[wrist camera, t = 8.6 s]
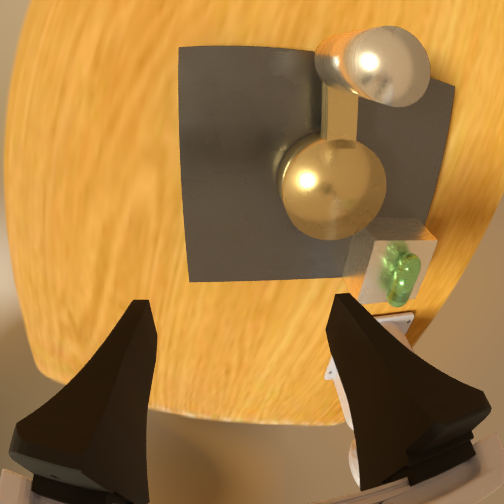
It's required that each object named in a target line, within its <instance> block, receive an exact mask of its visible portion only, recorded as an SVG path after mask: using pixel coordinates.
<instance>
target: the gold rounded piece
mask: <svg viewBox="0 0 504 504" xmlns="http://www.w3.org/2000/svg"><path fill="white" fill-rule="evenodd" d="M314 65H315V69H316V72H317V74H318V76H319V77H320V79H321V80H322V124H321V132H317V133H314V134H311V135H309V136H307V137H304V138H303V139H301V140H300V141H298V142H297V143H296V144H295V145H294V146H293V147H292V148H291V149H290V150H289V151H288V152H287V154H286V155H285V157H284V159H283V161H282V163H281V165H280V168H279V173H278V191H279V195H280V197H281V200H282V202H283V205H284V207H285V209H286V212H287V214H288V216H289V218H290V220H291V221H292V222H293V224H294V225H295V226H296V227H297V228H298V229H299V230H300V231H302V232H303V233H304V234H306V235H308V236H310V237H313V238H316V239H320V240H338V239H343V238H346V237H349V236H351V235H354V234H355V233H357V232H359V231H360V230H362V229H363V228H365V227H366V226H367V225H368V224H369V223H370V222H371V221H372V220H373V219H374V218H375V216H376V215H377V213H378V212H379V210H380V208H381V206H382V204H383V201H384V198H385V194H386V175H385V171H384V168H383V165H382V163H381V161H380V160H379V158H378V157H377V156H376V155H375V153H374V152H373V151H371V150H370V149H369V148H368V147H366V146H365V145H363V144H362V143H360V142H358V141H357V140H356V135H357V117H358V96H359V97H363V98H366V99H369V100H373V101H376V102H379V103H382V104H385V105H388V106H392V107H405V106H409V105H411V104H413V103H415V102H416V101H418V100H419V99H420V98H421V97H422V96H423V94H424V93H425V91H426V89H427V87H428V84H429V80H430V63H429V58H428V56H427V53H426V51H425V49H424V47H423V46H422V44H421V43H420V42H419V40H418V39H417V38H416V37H415V36H414V35H412V34H411V33H410V32H408V31H406V30H404V29H402V28H399V27H395V26H382V27H375V28H369V29H363V30H358V31H352V32H347V33H343V34H338V35H333V36H330V37H328V38H326V39H325V40H323V41H322V42H321V43H320V45H319V46H318V48H317V49H316V52H315V56H314Z"/></svg>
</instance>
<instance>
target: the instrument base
mask: <svg viewBox="0 0 504 504" xmlns="http://www.w3.org/2000/svg"><path fill="white" fill-rule="evenodd" d="M314 56H315V52H312V51H304V50H295V49H284V48H272V47H254V46H193V47H179V64H178V95H179V140H180V165H181V184H182V200H183V215H184V228H185V240H186V251H187V262H188V272H189V282H225V281H261V280H290V279H315V278H336V277H342V278H343V280H344V282H345V284H346V286H347V288H348V290H349V292H350V294H351V295H352V296H353V297H354V298H355V299H356V300H357V301H358V302H359V303H360V304H369V303H380V302H388V303H389V304H390V305H391V306H393V307H401V306H403V305H405V304H406V303H407V301H408V299H415V298H416V295H417V293H418V291H419V288H420V286H421V284H422V281H423V279H424V276H425V274H426V271H427V269H428V266H429V264H430V261H431V259H432V256H433V253H434V251H435V248H436V245H437V242H438V240H437V239H436V238H435V237H434V236H433V234H432V233H431V232H430V231H429V230H428V229H427V228H426V227H425V222H426V219H427V216H428V212H429V209H430V206H431V202H432V198H433V195H434V191H435V187H436V183H437V179H438V175H439V171H440V167H441V163H442V158H443V154H444V149H445V144H446V139H447V134H448V129H449V123H450V117H451V111H452V104H453V97H454V89H455V86H452V85H450V84H447V83H444V82H441V81H438V80H435V79H432V78H430V80H429V84H428V87H427V89H426V91H425V93H424V94H423V96H422V97H421V98H420V99H419V100H418V101H416V102H415V103H413V104H411V105H409V106H405V107H392V106H388V105H385V104H382V103H379V102H376V101H373V100H369V99H366V98H363V97H359V96H358V117H357V135H356V140H357V141H358V142H360V143H362V144H363V145H365V146H366V147H368V148H369V149H370V150H371V151H373V152H374V153H375V155H376V156H377V157H378V158H379V160H380V161H381V163H382V165H383V168H384V171H385V175H386V194H385V198H384V201H383V204H382V206H381V208H380V210H379V212H378V213H377V215H376V216H375V218H374V219H373V220H372V221H371V222H370V223H369V224H368V225H367V226H366V227H365V228H363V229H362V230H360V231H359V232H357V233H355V234H354V235H351V236H349V237H346V238H343V239H338V240H320V239H316V238H313V237H310V236H308V235H306V234H304V233H303V232H302V231H300V230H299V229H298V228H297V227H296V226H295V225H294V224H293V222H292V221H291V220H290V218H289V216H288V214H287V212H286V209H285V207H284V205H283V202H282V200H281V197H280V195H279V191H278V173H279V168H280V165H281V163H282V161H283V159H284V157H285V155H286V154H287V152H288V151H289V150H290V149H291V148H292V147H293V146H294V145H295V144H296V143H297V142H298V141H300V140H301V139H303V138H304V137H307V136H309V135H311V134H314V133H317V132H321V124H322V80H321V79H320V77H319V76H318V74H317V72H316V69H315V65H314Z"/></svg>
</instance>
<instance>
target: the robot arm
mask: <svg viewBox="0 0 504 504" xmlns="http://www.w3.org/2000/svg"><path fill="white" fill-rule="evenodd" d="M413 319H414V314H413V313H412V312H408V313H401V314H393V315H385V316H376V317H373V316H372V315H371V314H370V313H369V312H368V311H367V310H366V309H365V308H364V307H363V306H362V305H361V304H360V303H359V302H358V301H357V300H356V299H355V298H354V297H353V296H352V295H351V294H350V293H343V294H335V298H334V301H333V305H332V309H331V312H330V316H329V319H328V323H327V326H326V334H327V339H328V343H329V347H330V352H331V355H332V356H331V359H330V361H329V364H328V367H327V369H326V372H325V375H324V378H325V379H326V380H330V379H333V380H334V384H335V387H336V390H337V394H338V397H339V400H340V403H341V407H342V410H343V414H344V417H345V420H346V422H347V424H348V425H349V427H350V428H351V429H352V430H353V431H354V434H355V439H354V440H353V441H352V443H351V447H350V450H349V464H350V468H351V472H352V474H353V477H354V479H355V481H356V483H357V484H358V486H359V487H360V490H361V492H358V493H354V494H350V495H346V496H342V497H338V498H333V499H329V500H324V501H318V502H313V503H307V504H477V503H479V502H480V501H481V500H483V499H484V498H486V497H487V496H488V495H490V494H491V493H493V492H494V491H496V490H497V489H498V488H500V487H501V486H502V485H504V449H503V447H502V444H501V442H500V440H499V438H498V435H497V433H493V434H491V435H489V436H488V437H486V438H484V439H482V440H480V441H479V442H477V443H475V444H474V445H473V444H472V442H473V441H472V439H473V438H474V436H473V433H472V430H473V429H474V428H475V427H476V426H477V425H478V424H480V423H481V422H482V421H483V420H484V419H485V418H486V417H487V416H488V415H489V413H490V412H491V406H490V404H489V402H488V400H487V398H486V396H485V394H484V392H483V391H481V390H478V389H476V388H474V387H471V386H469V385H466V384H464V383H462V382H460V381H458V380H456V379H454V378H452V377H450V376H448V375H447V374H445V373H443V372H441V371H440V370H438V369H436V368H435V367H433V366H432V365H430V364H428V363H427V362H426V361H424V360H423V359H421V358H420V357H419V356H417V355H416V354H415V353H414V351H413V349H412V348H411V346H410V344H409V342H408V340H407V338H406V336H405V334H406V332H407V331H408V329H409V327H410V325H411V323H412V321H413ZM156 351H157V332H156V328H155V324H154V320H153V316H152V312H151V308H150V303H149V300H133V301H132V302H131V304H130V305H129V307H128V308H127V310H126V311H125V313H124V314H123V316H122V317H121V319H120V320H119V321H118V323H117V324H116V326H115V327H114V329H113V330H112V331H111V333H110V334H109V336H108V337H107V338H106V340H105V341H104V343H103V344H102V345H101V346H100V348H99V349H98V350H97V351H96V353H95V354H94V355H93V357H92V358H91V359H90V360H89V361H88V363H87V364H86V365H85V366H84V367H83V368H82V369H81V370H80V372H79V373H78V374H77V375H76V376H75V377H74V378H73V379H72V380H71V381H70V382H69V383H68V384H67V385H66V386H65V387H64V388H63V389H62V390H60V391H59V392H58V393H57V394H56V395H55V396H53V397H52V398H51V399H50V400H49V401H48V402H46V403H45V404H44V405H43V406H41V407H40V408H39V409H37V410H36V411H34V412H33V413H32V414H30V415H28V416H27V417H26V418H24V419H22V420H21V421H19V422H18V423H17V424H16V427H15V429H14V433H13V437H12V440H11V445H10V449H9V455H10V457H11V458H12V459H13V460H14V461H15V462H17V463H18V464H20V465H21V466H23V467H24V468H26V469H27V470H29V471H30V472H32V473H33V474H34V477H33V480H32V479H30V478H27V477H25V476H23V475H20V474H17V473H15V472H12V471H9V470H7V469H5V468H4V469H3V470H2V475H1V480H0V504H148V503H149V502H150V501H149V492H148V480H147V462H146V423H147V410H148V402H149V396H150V390H151V384H152V379H153V373H154V367H155V362H156Z"/></svg>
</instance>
